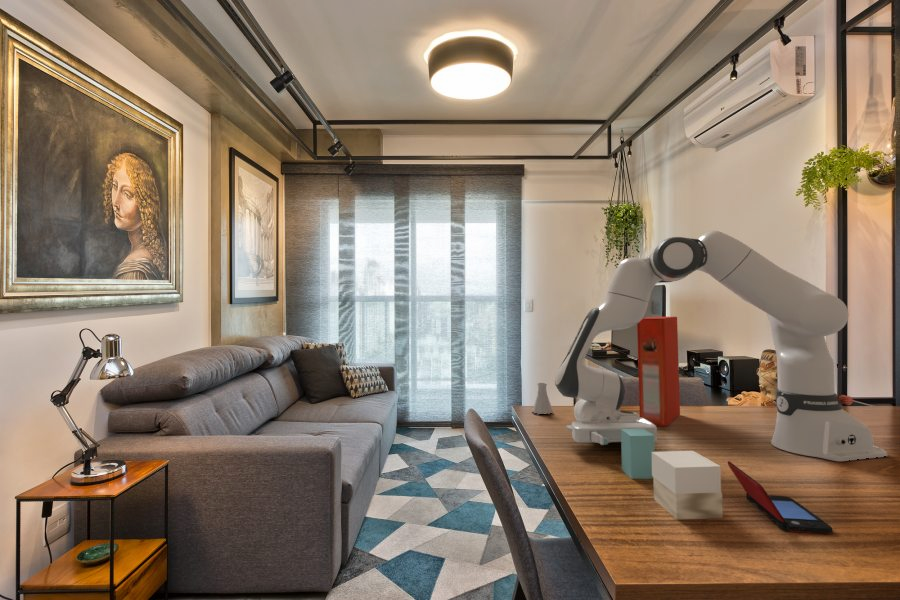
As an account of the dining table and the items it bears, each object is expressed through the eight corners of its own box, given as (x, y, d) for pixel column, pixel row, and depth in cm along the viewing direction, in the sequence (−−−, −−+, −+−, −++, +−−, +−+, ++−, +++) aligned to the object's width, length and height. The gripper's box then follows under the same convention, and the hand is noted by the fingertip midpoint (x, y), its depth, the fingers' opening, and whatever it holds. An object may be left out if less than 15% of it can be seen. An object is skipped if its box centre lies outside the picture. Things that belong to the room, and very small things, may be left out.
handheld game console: (836, 537, 70) (835, 489, 70) (760, 532, 71) (760, 485, 71) (789, 501, 82) (789, 461, 82) (726, 498, 84) (725, 458, 84)
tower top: (693, 474, 84) (692, 450, 84) (720, 492, 76) (720, 466, 76) (651, 475, 84) (651, 451, 84) (675, 494, 76) (675, 467, 76)
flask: (553, 416, 145) (553, 385, 145) (531, 415, 147) (531, 385, 147) (553, 410, 152) (552, 381, 152) (531, 410, 154) (531, 381, 154)
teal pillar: (644, 469, 98) (643, 428, 98) (654, 478, 93) (654, 435, 93) (621, 469, 98) (621, 429, 98) (631, 478, 93) (630, 435, 93)
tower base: (695, 498, 84) (695, 474, 84) (722, 519, 76) (722, 492, 76) (653, 499, 84) (653, 475, 84) (676, 520, 76) (676, 494, 76)
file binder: (638, 422, 135) (636, 318, 136) (653, 411, 149) (651, 316, 149) (667, 427, 130) (665, 318, 131) (680, 415, 144) (678, 316, 144)
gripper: (564, 413, 116) (579, 428, 102) (642, 412, 116) (668, 426, 102) (564, 437, 116) (580, 455, 102) (642, 436, 116) (668, 453, 102)
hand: (625, 441), depth 102 cm, fingers open, 8 cm apart
